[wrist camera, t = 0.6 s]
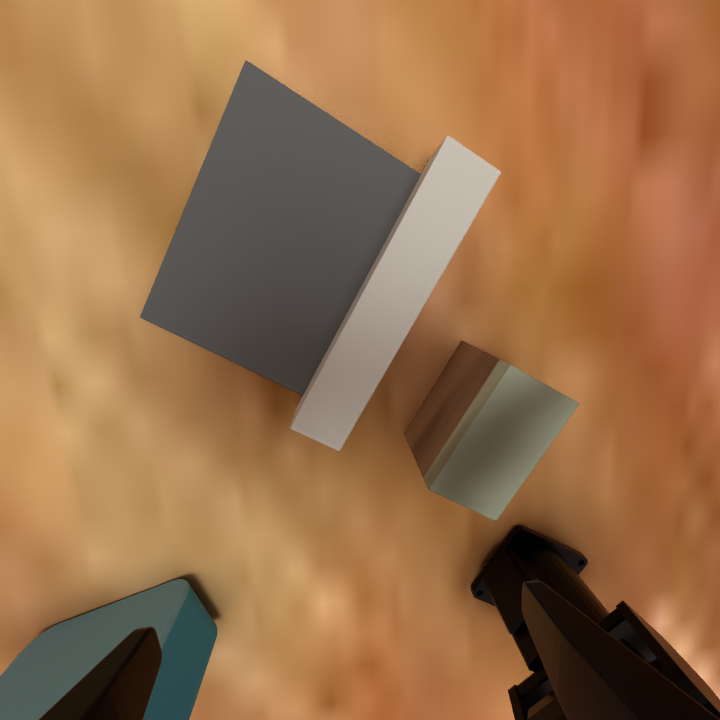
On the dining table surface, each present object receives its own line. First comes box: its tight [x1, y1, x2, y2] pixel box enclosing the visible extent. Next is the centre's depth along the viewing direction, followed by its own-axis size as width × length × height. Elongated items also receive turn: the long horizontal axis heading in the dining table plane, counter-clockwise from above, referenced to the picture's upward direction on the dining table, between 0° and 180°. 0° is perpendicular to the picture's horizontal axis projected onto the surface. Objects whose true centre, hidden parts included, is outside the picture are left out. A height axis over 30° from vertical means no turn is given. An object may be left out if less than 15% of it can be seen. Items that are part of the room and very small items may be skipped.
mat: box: [140, 61, 421, 395], centre depth 18 cm, size 10×14×1 cm
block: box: [404, 341, 579, 521], centre depth 19 cm, size 4×7×6 cm, turn 151°
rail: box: [290, 135, 501, 451], centre depth 18 cm, size 3×16×3 cm, turn 151°
